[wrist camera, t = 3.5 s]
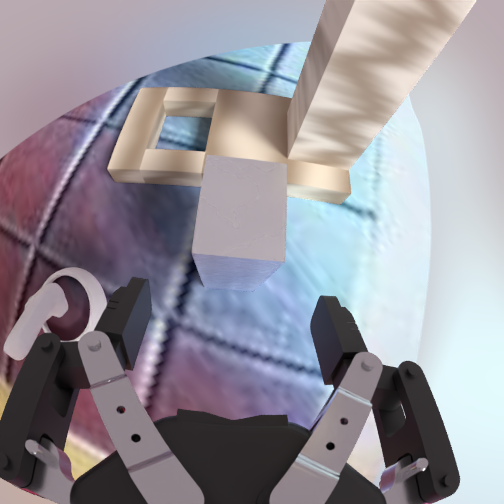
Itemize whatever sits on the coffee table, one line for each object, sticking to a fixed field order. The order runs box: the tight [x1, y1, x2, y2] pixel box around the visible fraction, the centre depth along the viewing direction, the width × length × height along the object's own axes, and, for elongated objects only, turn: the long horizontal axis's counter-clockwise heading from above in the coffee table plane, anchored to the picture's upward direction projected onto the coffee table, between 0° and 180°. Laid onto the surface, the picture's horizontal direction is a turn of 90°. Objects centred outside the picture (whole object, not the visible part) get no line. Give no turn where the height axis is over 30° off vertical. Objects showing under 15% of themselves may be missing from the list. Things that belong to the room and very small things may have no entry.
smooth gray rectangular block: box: [192, 155, 287, 292], centre depth 17 cm, size 4×5×11 cm
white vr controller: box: [4, 267, 107, 360], centre depth 16 cm, size 8×12×7 cm
